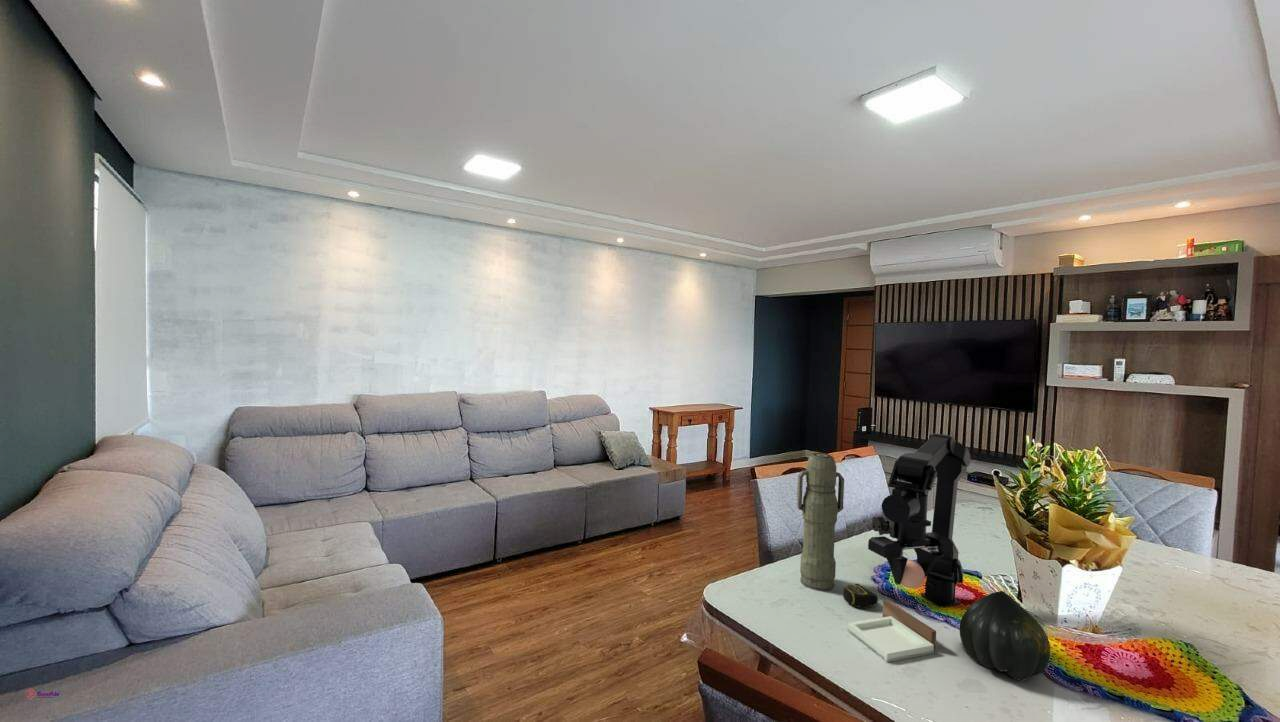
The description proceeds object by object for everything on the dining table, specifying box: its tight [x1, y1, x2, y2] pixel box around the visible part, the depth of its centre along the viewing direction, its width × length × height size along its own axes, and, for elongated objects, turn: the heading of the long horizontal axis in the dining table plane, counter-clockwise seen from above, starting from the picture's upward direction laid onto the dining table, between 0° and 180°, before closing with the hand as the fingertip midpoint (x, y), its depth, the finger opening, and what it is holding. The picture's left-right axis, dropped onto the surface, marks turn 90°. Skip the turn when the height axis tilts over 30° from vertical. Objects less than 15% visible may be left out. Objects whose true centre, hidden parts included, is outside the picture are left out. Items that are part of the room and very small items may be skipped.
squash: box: [959, 590, 1051, 681], centre depth 106 cm, size 14×15×15 cm
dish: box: [846, 616, 935, 663], centre depth 114 cm, size 12×12×2 cm
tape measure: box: [842, 583, 878, 609], centre depth 131 cm, size 7×7×4 cm
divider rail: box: [882, 599, 937, 651], centre depth 118 cm, size 1×14×4 cm, turn 17°
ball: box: [900, 559, 926, 589], centre depth 117 cm, size 6×6×6 cm
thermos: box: [796, 452, 845, 592], centre depth 141 cm, size 9×12×35 cm
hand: (908, 582), depth 117 cm, fingers closed on ball, 6 cm apart
